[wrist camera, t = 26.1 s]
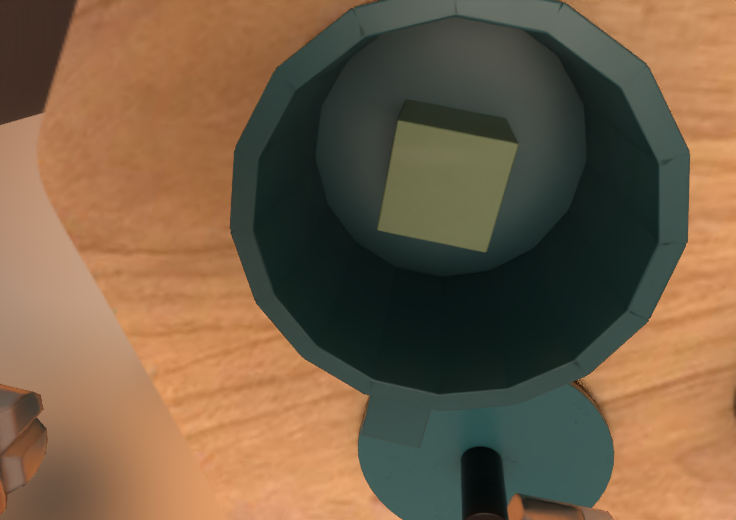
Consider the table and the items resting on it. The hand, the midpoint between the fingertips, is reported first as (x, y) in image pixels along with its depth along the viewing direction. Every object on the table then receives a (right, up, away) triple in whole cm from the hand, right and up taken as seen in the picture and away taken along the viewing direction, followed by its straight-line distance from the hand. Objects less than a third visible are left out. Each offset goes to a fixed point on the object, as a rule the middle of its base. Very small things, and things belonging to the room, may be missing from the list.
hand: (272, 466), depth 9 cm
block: (+5, +8, +15) cm, 18 cm away
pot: (+5, +8, +16) cm, 18 cm away
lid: (+8, -8, +23) cm, 25 cm away
